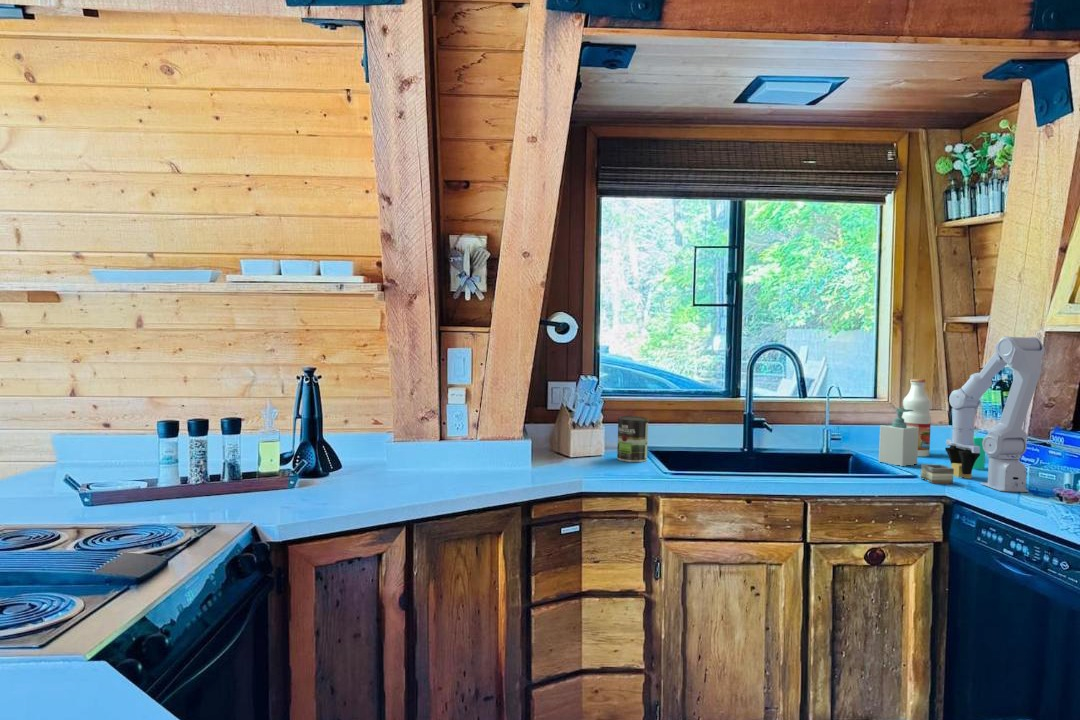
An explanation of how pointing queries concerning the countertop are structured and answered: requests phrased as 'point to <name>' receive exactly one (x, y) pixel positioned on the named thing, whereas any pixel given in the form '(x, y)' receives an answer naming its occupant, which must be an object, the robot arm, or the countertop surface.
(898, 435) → the soap bottle
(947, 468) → the tower base
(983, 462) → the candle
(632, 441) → the coffee can
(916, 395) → the fruit juice
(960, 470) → the ochre block
